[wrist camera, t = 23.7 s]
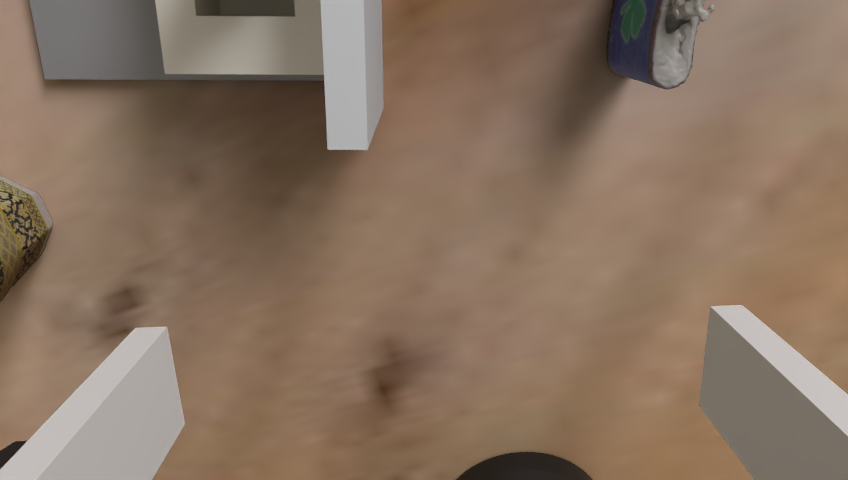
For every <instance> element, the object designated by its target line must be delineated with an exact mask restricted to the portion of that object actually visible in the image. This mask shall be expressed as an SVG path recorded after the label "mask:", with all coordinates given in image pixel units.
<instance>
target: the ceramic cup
mask: <svg viewBox="0 0 848 480" xmlns="http://www.w3.org/2000/svg"><path fill="white" fill-rule="evenodd" d="M52 226H53V222H52V220H51V218H50V216H49V214H48V212H47V210H46V208H45V206H44V204H43V202H42V200H41V198H40V196H39V195H38V194H37V193H35V192H33V191H31V190H29V189H27V188H25V187H23V186H21V185H19V184H17V183H15V182H13V181H11V180H9V179H7V178H4V177H1V176H0V302H1V301H2V300H3V298H4V297H5V296H6V294H7V293H8V291H9V290H10V288H11V287H12V286H13V285H15V284H16V282H17V281H18V280H19V279H20V278H21V277H22V276H23V275H24V273H25V272H26V271H27V270H28V269H29V268H30V267H31V266H32V264H33V263H34V262H35V261H36V260H37V259H38V258H39V257H40V255H41V254H42V252H43V250H44V247H45V245H46V242H47V240H48V237H49V234H50V232H51V229H52Z"/></svg>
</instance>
